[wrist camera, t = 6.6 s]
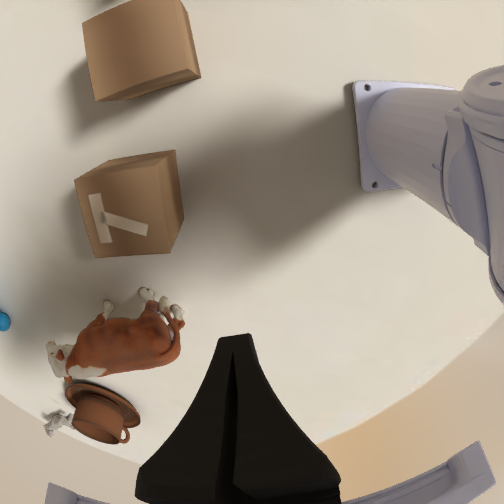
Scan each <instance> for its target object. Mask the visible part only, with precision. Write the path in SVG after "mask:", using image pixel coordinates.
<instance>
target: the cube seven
mask: <svg viewBox="0 0 504 504" xmlns="http://www.w3.org/2000/svg"><path fill="white" fill-rule="evenodd" d="M74 182H75V186H76V191H77V195H78V199H79V203H80V207H81V211H82V215H83V219H84V223H85V226H86V230H87V233H88V236H89V240H90V243H91V246H92V249H93V253H94V256H95V258H101V257H116V256H132V255H149V254H165V253H170V251H171V249H172V246H173V244H174V241H175V239H176V237H177V234H178V232H179V229H180V227H181V225H182V222H183V220H184V214H183V207H182V200H181V193H180V186H179V178H178V170H177V161H176V153H175V150H170V151H162V152H155V153H148V154H142V155H136V156H130V157H124V158H119V159H113V160H108V161H107V162H105V163H103V164H101V165H99V166H97V167H96V168H94V169H92V170H90V171H89V172H87V173H85V174H84V175H82V176H80V177H78V178H77V179H75V180H74Z"/></svg>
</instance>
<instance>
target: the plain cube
mask: <svg viewBox="0 0 504 504" xmlns="http://www.w3.org/2000/svg"><path fill="white" fill-rule="evenodd" d="M82 27H83V35H84V42H85V49H86V56H87V62H88V67H89V73H90V78H91V83H92V88H93V93H94V98H95V102H96V101H110V100H130V99H132V98H135V97H138V96H141V95H143V94H146V93H149V92H152V91H155V90H159V89H162V88H165V87H168V86H172V85H175V84H179V83H182V82H186V81H190V80H194V79H198V78H201V74H200V69H199V64H198V60H197V55H196V50H195V45H194V41H193V36H192V31H191V26H190V21H189V17H188V13H187V11H186V9H185V7H184V6H183V4H182V2H181V1H180V0H131V1H129V2H126V3H124V4H121V5H119V6H117V7H114V8H112V9H110V10H108V11H105V12H103V13H101V14H99V15H97V16H95V17H93V18H91V19H89V20H87V21H85V22H83V23H82Z"/></svg>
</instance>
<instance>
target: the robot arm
mask: <svg viewBox="0 0 504 504" xmlns="http://www.w3.org/2000/svg"><path fill="white" fill-rule="evenodd" d="M365 84H366V85H368V87H369V90H368V91H366V90H365V89H364V86H365ZM352 90H353V97H354V105H355V113H356V122H357V132H358V143H359V157H360V174H361V187H362V189H363V190H364V191H366V192H374V191H382V190H389V189H397V188H405V189H407V190H408V191H410V192H411V193H413V194H414V195H416V196H417V197H419V198H420V199H422V200H423V201H424V202H426V203H427V204H429V205H430V206H432V207H433V208H434V209H436V210H437V211H439V212H440V213H441V214H443V215H444V216H445V217H447V218H448V219H449V220H451V221H452V222H453V223H455V224H456V225H457V226H459V227H460V228H461V229H462V230H463V231H465V232H466V233H467V234H468V235H470V236H471V237H473V239H474V242H475V245H476V246H477V247H479V248H480V249H481V250H482V251H483V252H484V253H485V254H487V255H488V256H489V278H490V281H491V285H492V287H493V289H494V291H495V294H496V295H497V297H498V298H499V300H500V301H501V302H502V303H503V304H504V65H502V66H497V67H493V68H489V69H486V70H484V71H481V72H479V73H477V74H475V75H473V76H472V77H471V78H469V79H468V81H467V82H466V84H465V86H464V88H463V90H462V91H457V90H455V89H454V88H452V87H445V86H438V85H430V84H420V83H409V82H394V81H355V82H354V83H353V85H352ZM373 182H376V185H375V186H374V187H372V183H373ZM340 482H341V478H340V475H339V473H338V472H337V470H336V469H335V467H334V466H333V465H332V463H331V462H330V460H329V459H328V458H327V456H326V455H325V454H324V453H323V452H322V451H321V450H320V449H319V448H318V447H317V446H316V445H315V444H314V443H313V442H312V441H311V440H310V439H309V438H308V437H307V435H306V434H305V433H304V432H303V431H302V430H301V429H300V427H299V426H298V425H297V424H296V422H295V421H294V420H293V419H292V418H291V416H290V415H289V414H288V412H287V411H286V409H285V408H284V407H283V405H282V404H281V402H280V401H279V399H278V398H277V396H276V394H275V393H274V391H273V390H272V388H271V386H270V384H269V382H268V381H267V379H266V377H265V375H264V373H263V371H262V368H261V366H260V364H259V361H258V357H257V353H256V350H255V346H254V342H253V339H252V335H251V334H249V333H247V334H240V335H234V336H227V337H221V338H219V339H218V342H217V346H216V349H215V352H214V355H213V358H212V360H211V363H210V366H209V368H208V371H207V373H206V375H205V378H204V380H203V382H202V384H201V386H200V388H199V390H198V393H197V395H196V397H195V398H194V400H193V402H192V404H191V406H190V407H189V409H188V411H187V412H186V414H185V415H184V417H183V418H182V420H181V421H180V423H179V424H178V426H177V427H176V429H175V430H174V431H173V433H172V434H171V435H170V436H169V438H168V439H167V440H166V441H165V442H164V443H163V445H162V446H161V447H160V448H159V449H158V450H157V451H156V453H155V454H154V455H152V456H151V457H150V458H149V459H148V460H147V461H146V462H145V463H144V464H143V465H142V466H141V467H140V468H139V472H138V476H137V480H136V488H135V497H136V498H137V499H139V500H141V501H144V502H146V503H149V504H468V503H470V502H471V501H473V500H474V499H476V498H477V497H479V496H480V495H481V494H483V493H484V492H486V491H487V490H488V489H490V488H491V487H492V486H494V485H495V484H496V481H495V478H494V475H493V473H492V470H491V468H490V465H489V463H488V460H487V458H486V455H485V453H484V451H483V449H482V446H481V444H480V441H476V442H475V443H473V444H471V445H470V446H468V447H467V448H465V449H464V450H462V451H460V452H458V453H457V454H455V455H453V456H452V457H451V458H449V459H448V460H447V461H446V462H444V463H442V464H441V465H439V466H437V467H435V468H433V469H431V470H429V471H427V472H424V473H423V474H420V475H418V476H416V477H414V478H411V479H409V480H407V481H404V482H402V483H399V484H397V485H394V486H392V487H389V488H386V489H384V490H381V491H378V492H375V493H372V494H369V495H366V496H363V497H359V498H356V499H353V500H349V501H345V502H341V499H340V490H339V483H340ZM45 504H109V503H105V502H101V501H98V500H94V499H91V498H87V497H84V496H81V495H78V494H76V493H74V492H73V491H70V490H68V489H66V488H63V487H61V486H58V485H55V484H53V483H49V484H48V489H47V494H46V499H45Z"/></svg>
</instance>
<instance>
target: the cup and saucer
mask: <svg viewBox="0 0 504 504" xmlns="http://www.w3.org/2000/svg"><path fill="white" fill-rule="evenodd" d="M65 396H66V398H67V400H68V401H69V402H70V403H71V404H72V405H73V406H74V407H75V408H76V410H75V413H74V416H73V419H72V422H71V424H72V426H73V427H74V428H75V429H76V430H77V431H79V432H80V433H82V434H83V435H85V436H87V437H89V438H91V439H94V440H96V441H99V442H103V443H107V444H118V443H127V442H128V441H129V439H130V434H129V431H128V429H127V428H133V427H136V426H138V425H139V424H140V415H139V413H138V412H137V411H136V409H135V408H134V407H133V406H132V405H131V404H130V403H129V402H127V401H126V400H125V399H123V398H122V397H120V396H118V395H116V394H115V393H113V392H110V391H108V390H106V389H103V388H101V387H97V386H94V385H90V384H73V385H70V386H68V387H67V389H66V390H65ZM122 429H123V430H124V431H125V433H126V438H125V439H124V440H122V439H120V438H121V433H122Z"/></svg>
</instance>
